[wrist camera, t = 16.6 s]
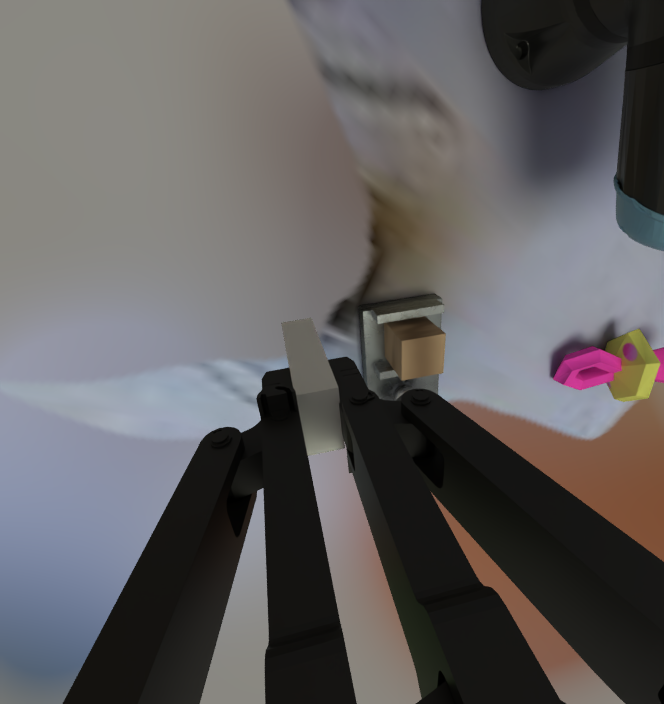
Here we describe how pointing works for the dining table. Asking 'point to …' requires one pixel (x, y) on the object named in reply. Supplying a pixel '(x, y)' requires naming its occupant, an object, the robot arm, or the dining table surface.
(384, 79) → the dining table surface
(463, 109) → the dining table surface
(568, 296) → the dining table surface
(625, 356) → the toy
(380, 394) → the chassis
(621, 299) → the dining table surface
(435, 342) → the block
